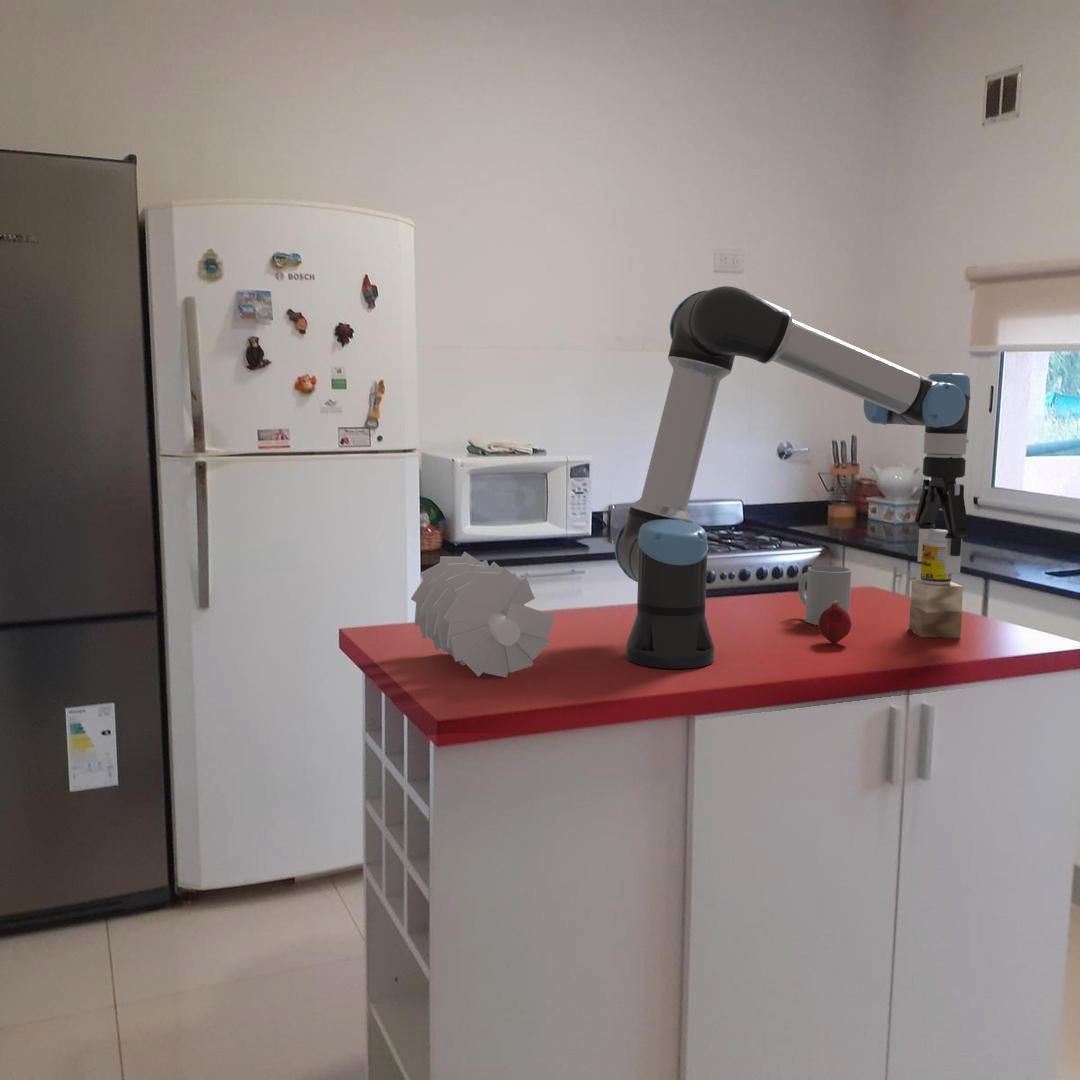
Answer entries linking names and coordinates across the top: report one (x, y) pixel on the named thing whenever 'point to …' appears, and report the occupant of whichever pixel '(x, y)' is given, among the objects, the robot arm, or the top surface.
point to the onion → (834, 623)
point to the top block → (936, 597)
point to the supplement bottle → (934, 558)
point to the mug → (824, 590)
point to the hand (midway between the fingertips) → (938, 567)
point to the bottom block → (935, 623)
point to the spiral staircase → (480, 615)
